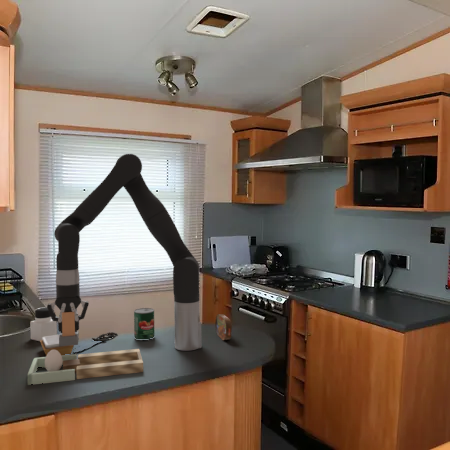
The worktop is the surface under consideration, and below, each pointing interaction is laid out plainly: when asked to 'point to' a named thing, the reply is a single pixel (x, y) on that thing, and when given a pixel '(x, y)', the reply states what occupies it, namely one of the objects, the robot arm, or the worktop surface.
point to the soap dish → (55, 345)
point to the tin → (223, 327)
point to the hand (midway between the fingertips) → (68, 331)
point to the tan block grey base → (68, 330)
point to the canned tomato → (144, 323)
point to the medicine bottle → (42, 324)
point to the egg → (53, 361)
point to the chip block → (71, 364)
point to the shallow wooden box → (109, 363)
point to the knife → (105, 337)
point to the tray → (50, 372)
